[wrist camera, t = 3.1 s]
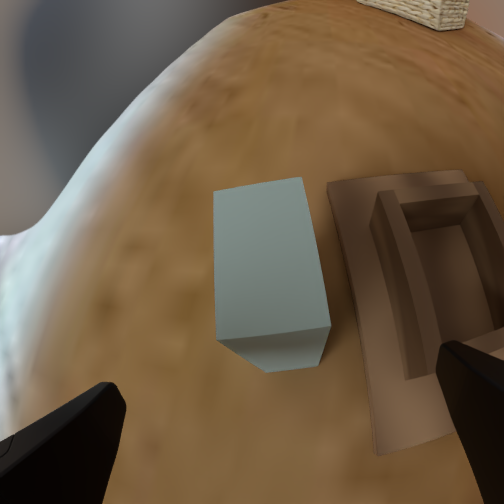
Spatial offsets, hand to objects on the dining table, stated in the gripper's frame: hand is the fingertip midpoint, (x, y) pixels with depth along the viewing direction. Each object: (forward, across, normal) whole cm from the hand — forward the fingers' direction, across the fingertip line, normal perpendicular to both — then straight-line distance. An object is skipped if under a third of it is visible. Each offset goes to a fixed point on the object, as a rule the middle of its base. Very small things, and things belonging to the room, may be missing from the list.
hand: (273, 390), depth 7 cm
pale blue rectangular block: (+10, 0, +4) cm, 11 cm away
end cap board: (+10, -10, +4) cm, 15 cm away
